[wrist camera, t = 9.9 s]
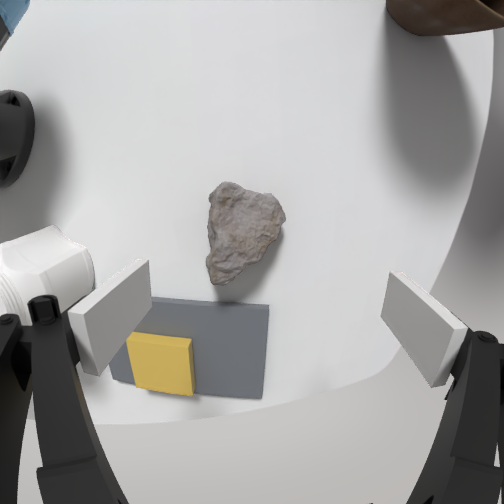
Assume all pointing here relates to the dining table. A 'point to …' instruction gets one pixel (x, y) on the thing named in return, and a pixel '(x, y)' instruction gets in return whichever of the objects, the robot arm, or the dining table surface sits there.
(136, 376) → the yellow block
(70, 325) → the robot arm
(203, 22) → the dining table surface
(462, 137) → the dining table surface
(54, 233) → the jar
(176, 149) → the dining table surface
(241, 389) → the slate board
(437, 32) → the plant pot
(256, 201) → the stone
